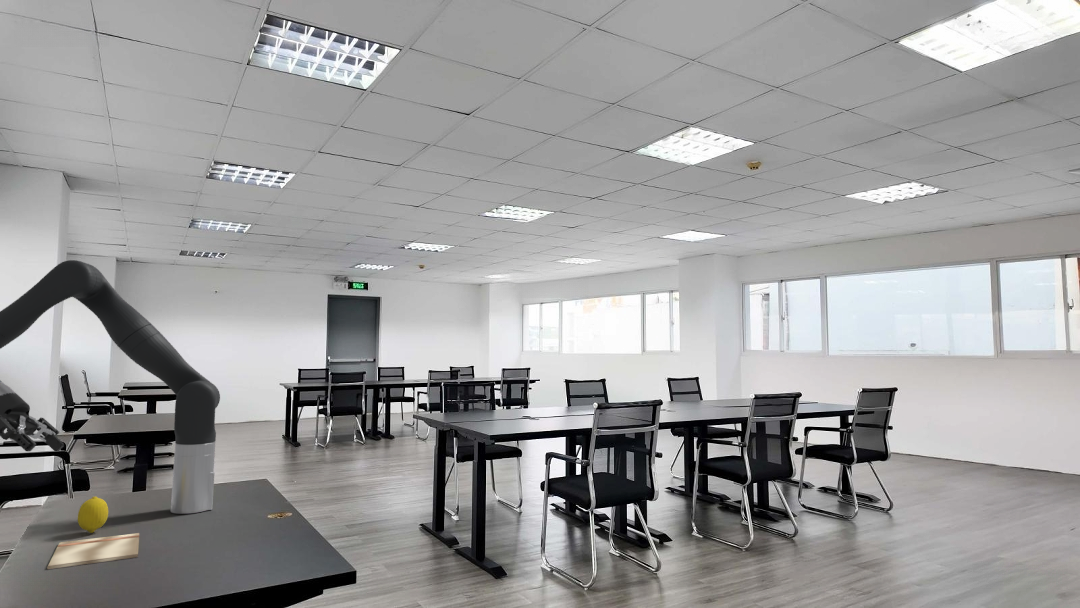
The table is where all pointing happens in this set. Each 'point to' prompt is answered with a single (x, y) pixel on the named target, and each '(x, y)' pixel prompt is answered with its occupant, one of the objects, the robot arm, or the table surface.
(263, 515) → the table surface
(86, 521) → the lemon
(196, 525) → the table surface
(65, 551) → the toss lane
